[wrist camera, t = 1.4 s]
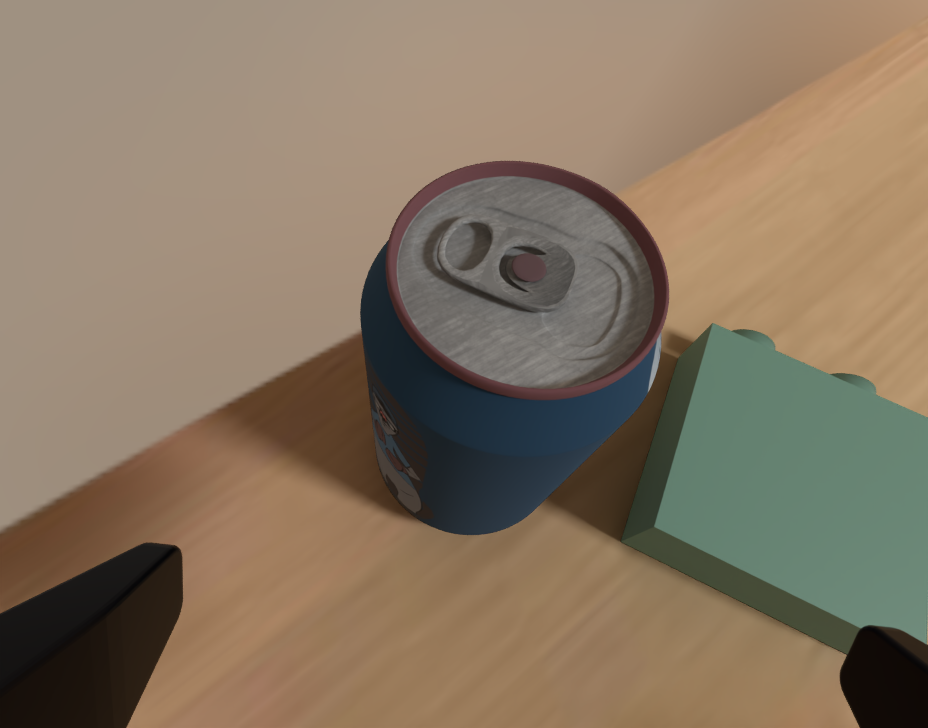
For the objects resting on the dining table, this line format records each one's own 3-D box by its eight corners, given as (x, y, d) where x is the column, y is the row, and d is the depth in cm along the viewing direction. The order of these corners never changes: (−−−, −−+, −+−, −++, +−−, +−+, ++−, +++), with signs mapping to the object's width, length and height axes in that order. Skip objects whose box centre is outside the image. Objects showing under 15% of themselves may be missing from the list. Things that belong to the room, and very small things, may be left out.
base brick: (853, 657, 19) (926, 660, 17) (620, 541, 20) (654, 526, 18) (874, 422, 24) (934, 395, 21) (684, 337, 25) (718, 301, 22)
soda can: (571, 411, 22) (725, 207, 12) (517, 572, 19) (660, 491, 9) (421, 348, 23) (440, 102, 12) (344, 495, 20) (282, 331, 9)
